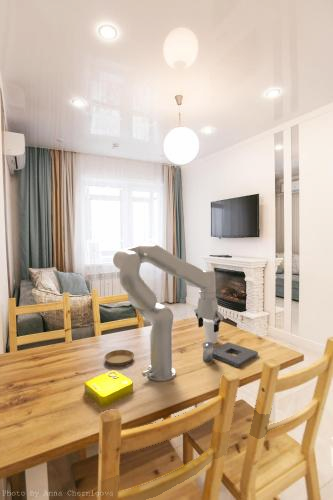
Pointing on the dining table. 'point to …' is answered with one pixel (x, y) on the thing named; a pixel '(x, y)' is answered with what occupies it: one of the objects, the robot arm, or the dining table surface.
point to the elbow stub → (208, 352)
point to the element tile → (108, 388)
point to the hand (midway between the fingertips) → (208, 329)
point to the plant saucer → (119, 357)
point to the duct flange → (237, 360)
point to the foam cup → (210, 331)
